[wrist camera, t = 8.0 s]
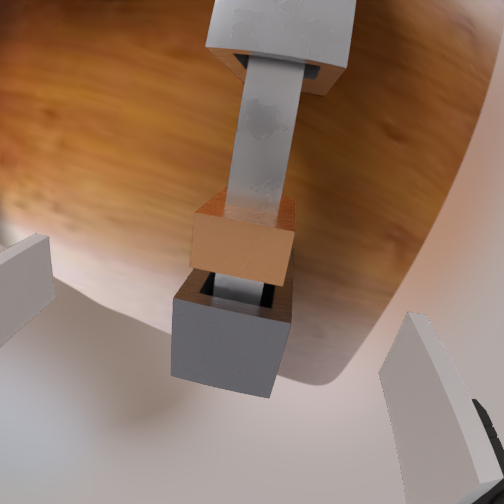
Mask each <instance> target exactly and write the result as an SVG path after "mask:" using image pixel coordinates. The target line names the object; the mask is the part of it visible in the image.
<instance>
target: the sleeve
mask: <svg viewBox="0 0 504 504" xmlns="http://www.w3.org/2000/svg"><path fill="white" fill-rule="evenodd" d="M355 6H356V0H215V4H214V9H213V13H212V18H211V22H210V27H209V32H208V36H207V41H206V46H205V47H206V48H207V49H208V50H209V51H210V52H211V53H213V54H214V55H215V56H216V57H217V58H218V59H219V60H220V61H221V62H222V63H223V64H224V65H225V66H227V67H228V68H229V69H230V70H231V71H232V72H233V73H234V74H235V75H236V76H237V77H238V78H239V79H240V80H241V81H242V82H244V83H245V78H246V73H247V67H248V62H249V57H250V55H254V56H262V57H270V58H276V59H283V60H289V61H295V62H300V63H306V64H305V70H304V76H303V81H302V87H301V92H306V93H311V94H316V95H320V96H325V95H326V94H327V92H328V91H329V90H330V88H331V87H332V86H333V85H334V83H335V82H336V81H337V80H338V78H339V77H340V76H341V75H342V73H343V72H344V71H345V69H346V68H347V63H348V56H349V50H350V43H351V36H352V29H353V22H354V14H355Z"/></svg>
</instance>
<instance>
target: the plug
mask: <svg viewBox="0 0 504 504" xmlns="http://www.w3.org/2000/svg"><path fill="white" fill-rule="evenodd" d="M305 64H306V63H300V62H295V61H289V60H283V59H276V58H270V57H262V56H254V55H250V57H249V62H248V67H247V73H246V78H245V84H244V90H243V95H242V101H241V107H240V113H239V119H238V125H237V131H236V137H235V143H234V149H233V156H232V162H231V168H230V175H229V182H228V186H227V187H226V188H225V189H224V190H222V191H221V192H220V193H219V194H217V195H216V196H215V197H214V198H212V199H211V200H210V201H209V202H207V203H206V204H205V205H204V206H203V207H201V208H200V209H199V210H198V211H196V212H195V218H194V227H193V237H192V247H191V257H190V267H192V268H197V269H201V270H206V271H211V272H215V273H216V274H215V282H214V290H213V296H214V297H218V298H223V299H227V300H232V301H237V302H241V303H246V304H251V305H256V306H260V301H261V296H262V291H263V287H264V283H268V284H273V285H278V286H283V284H284V279H285V275H286V271H287V266H288V262H289V257H290V253H291V248H292V244H293V239H294V235H295V199H291V198H286V197H281V196H282V191H283V185H284V180H285V175H286V169H287V164H288V159H289V153H290V148H291V143H292V137H293V132H294V126H295V121H296V115H297V110H298V104H299V99H300V93H301V87H302V81H303V76H304V70H305Z"/></svg>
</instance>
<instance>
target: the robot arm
mask: <svg viewBox="0 0 504 504" xmlns="http://www.w3.org/2000/svg"><path fill="white" fill-rule="evenodd" d="M54 299H56V294H55V288H54V281H53V273H52V264H51V255H50V244H49V236H45V235H42V234H38V233H35V234H33V235H31V236H29V237H27V238H26V239H24V240H22V241H20V242H18V243H16V244H15V245H13V246H11V247H9V248H7V249H6V250H4V251H2V252H1V253H0V348H1V347H2V346H3V345H4V344H5V343H6V342H7V341H8V340H9V339H10V338H12V337H13V336H14V335H15V334H16V333H17V332H18V331H19V330H20V329H21V328H22V327H23V326H25V325H26V324H27V323H28V322H29V321H30V320H31V319H32V318H33V317H35V316H36V315H37V314H38V313H39V312H41V311H42V310H43V309H44V308H45V307H46V306H47V305H49V304H50V303H51V302H52V301H53V300H54ZM379 376H380V380H381V384H382V387H383V392H384V396H385V400H386V403H387V408H388V412H389V416H390V421H391V425H392V430H393V434H394V439H395V444H396V448H397V453H398V458H399V463H400V469H401V474H402V480H403V485H404V491H405V498H406V504H504V449H503V447H502V445H501V442H500V440H499V438H497V433H496V431H495V429H494V427H492V425H493V424H492V422H491V420H490V418H489V416H488V414H487V412H486V410H485V409H484V408H483V407H482V406H481V405H480V403H479V402H478V401H477V400H476V399H471V398H470V396H469V394H468V392H467V390H466V388H465V385H464V384H463V382H462V380H461V378H460V376H459V374H458V372H457V370H456V368H455V366H454V364H453V362H452V360H451V358H450V357H449V355H448V353H447V351H446V349H445V347H444V345H443V344H442V342H441V340H440V338H439V337H438V335H437V333H436V331H435V329H434V328H433V326H432V324H431V323H430V321H429V319H428V317H427V316H426V315H424V314H418V313H412V312H407V314H406V316H405V319H404V321H403V323H402V325H401V328H400V330H399V332H398V334H397V336H396V339H395V340H394V343H393V345H392V347H391V349H390V351H389V353H388V355H387V357H386V359H385V361H384V363H383V365H382V367H381V369H380V371H379Z"/></svg>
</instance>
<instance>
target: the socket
mask: <svg viewBox="0 0 504 504" xmlns="http://www.w3.org/2000/svg"><path fill="white" fill-rule="evenodd" d="M293 257H294V249H292V248H291V253H290V257H289V262H288V266H287V271H286V275H285V279H284V284H283V286H278V285H273V284H268V283H264V287H263V291H262V296H261V301H260V306H256V305H251V304H246V303H241V302H237V301H232V300H227V299H223V298H218V297H214V296H213V290H214V282H215V274H216V273H215V272H211V271H206V270H201V269H197V268H194V269H193V271H192V272H191V274H190V275H189V276H188V278H187V279H186V281H185V282H184V283H183V285H182V286H181V288H180V289H179V291H178V292H177V293H176V295H175V296H174V298H173V315H172V344H171V376H174V377H178V378H182V379H185V380H189V381H193V382H197V383H201V384H204V385H209V386H213V387H217V388H221V389H226V390H230V391H235V392H240V393H244V394H249V395H255V396H259V397H265V398H270V394H271V391H272V387H273V385H274V381H275V378H276V375H277V371H278V368H279V365H280V361H281V358H282V354H283V351H284V347H285V344H286V340H287V337H288V333H289V330H290V326H291V318H292V291H293Z"/></svg>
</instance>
